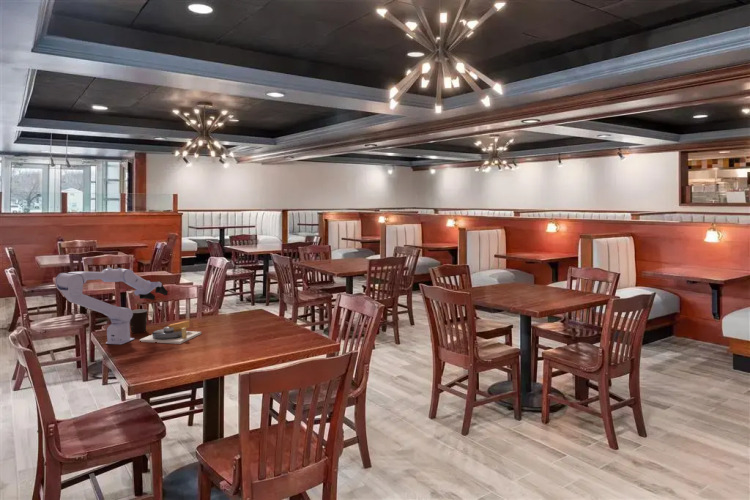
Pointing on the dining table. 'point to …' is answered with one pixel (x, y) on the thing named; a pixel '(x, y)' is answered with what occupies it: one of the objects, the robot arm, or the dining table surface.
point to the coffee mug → (138, 320)
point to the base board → (185, 336)
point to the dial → (171, 331)
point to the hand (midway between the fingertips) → (160, 295)
